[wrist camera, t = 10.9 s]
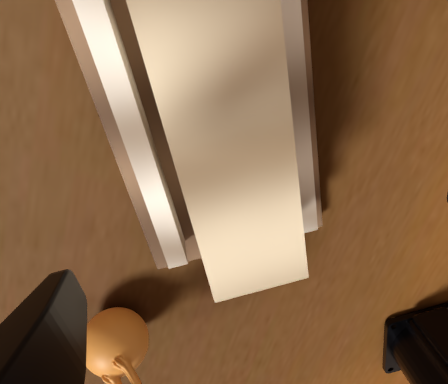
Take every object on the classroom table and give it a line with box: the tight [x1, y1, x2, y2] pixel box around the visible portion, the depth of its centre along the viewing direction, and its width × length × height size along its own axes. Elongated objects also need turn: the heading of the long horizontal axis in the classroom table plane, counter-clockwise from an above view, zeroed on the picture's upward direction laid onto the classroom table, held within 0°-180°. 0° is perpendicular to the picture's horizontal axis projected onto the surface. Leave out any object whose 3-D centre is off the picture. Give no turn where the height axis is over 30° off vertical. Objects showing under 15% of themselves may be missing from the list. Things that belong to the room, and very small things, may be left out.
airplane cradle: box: [55, 0, 323, 269], centre depth 16 cm, size 17×10×5 cm, turn 11°
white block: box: [126, 0, 309, 303], centre depth 15 cm, size 12×4×6 cm, turn 11°
